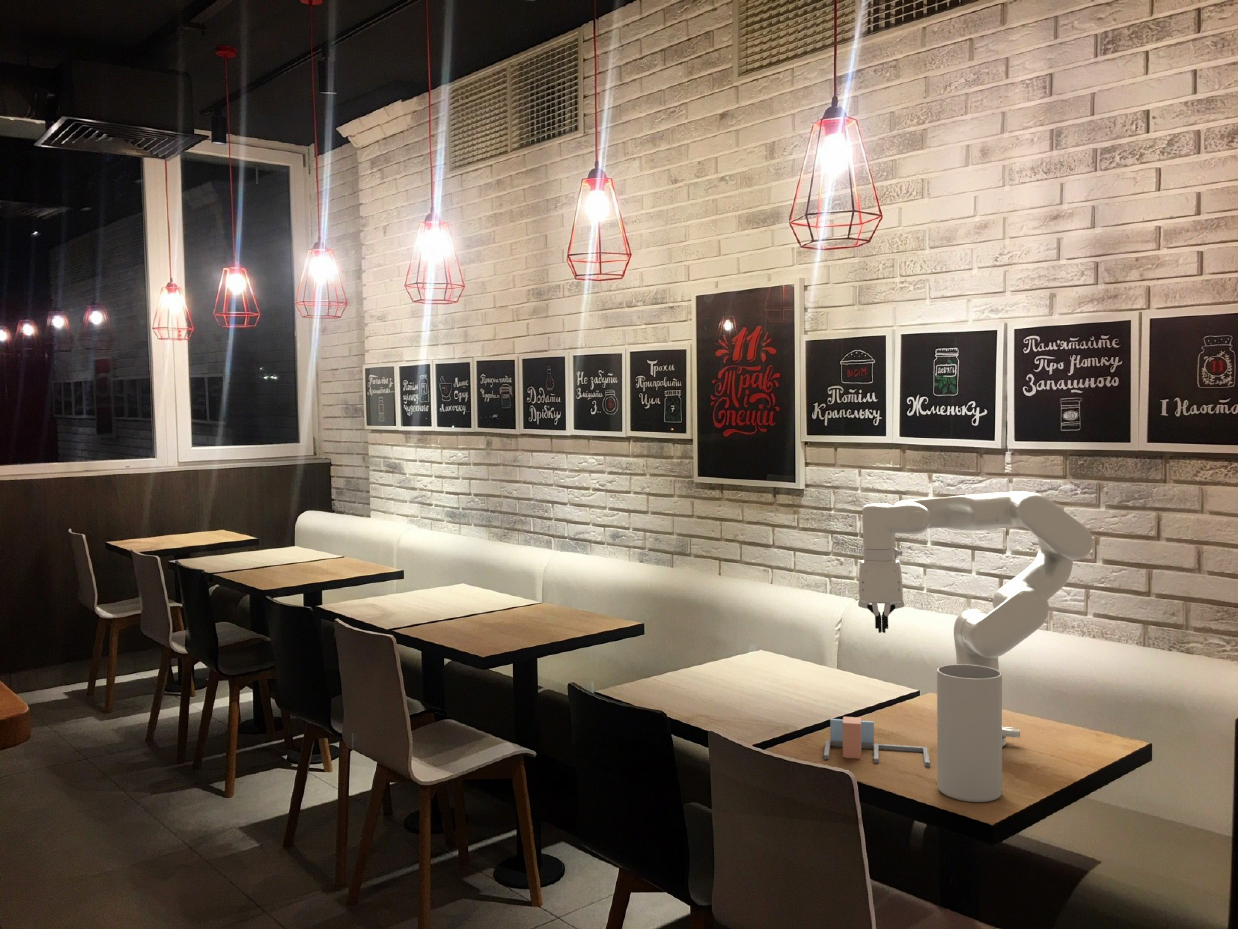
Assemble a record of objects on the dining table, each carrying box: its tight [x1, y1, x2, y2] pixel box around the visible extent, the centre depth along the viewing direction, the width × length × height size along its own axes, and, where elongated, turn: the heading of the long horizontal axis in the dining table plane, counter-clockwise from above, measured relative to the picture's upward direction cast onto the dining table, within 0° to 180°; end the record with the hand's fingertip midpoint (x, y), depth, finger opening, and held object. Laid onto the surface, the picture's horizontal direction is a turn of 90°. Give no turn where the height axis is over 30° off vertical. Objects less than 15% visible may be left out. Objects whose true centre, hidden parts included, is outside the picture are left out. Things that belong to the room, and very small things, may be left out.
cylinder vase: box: [936, 663, 1003, 803], centre depth 199 cm, size 12×12×25 cm
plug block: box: [842, 716, 862, 760], centre depth 223 cm, size 4×5×8 cm
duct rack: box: [823, 718, 931, 768], centre depth 223 cm, size 23×12×6 cm, turn 75°
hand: (881, 631), depth 232 cm, fingers closed
